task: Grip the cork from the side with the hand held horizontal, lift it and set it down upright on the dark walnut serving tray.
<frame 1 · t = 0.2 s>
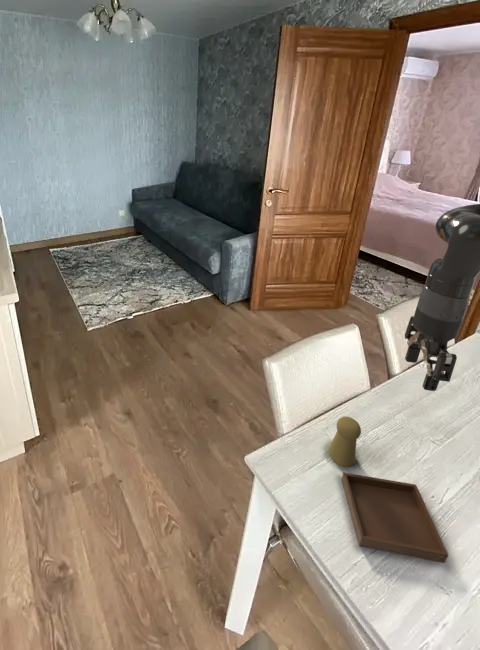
hand: (418, 374, 74), 27 cm above the table, tool pointing down, fingers open, 8 cm apart
cork: (341, 455, 85), on the table
tray: (387, 517, 72), on the table
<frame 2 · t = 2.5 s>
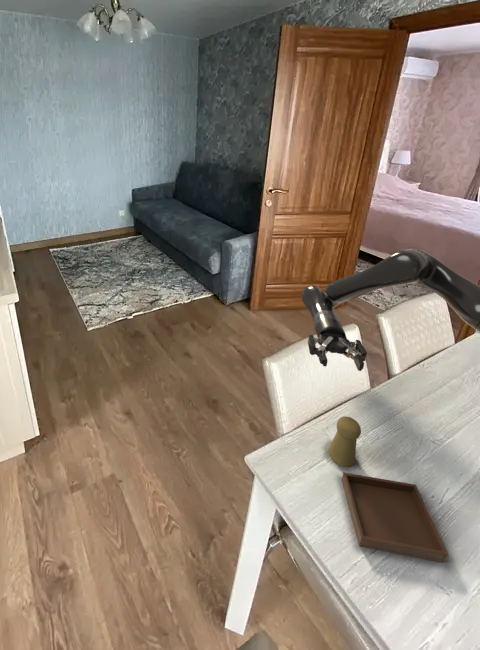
hand: (343, 366, 88), 18 cm above the table, tool horizontal, fingers open, 8 cm apart
nothing on the table moved.
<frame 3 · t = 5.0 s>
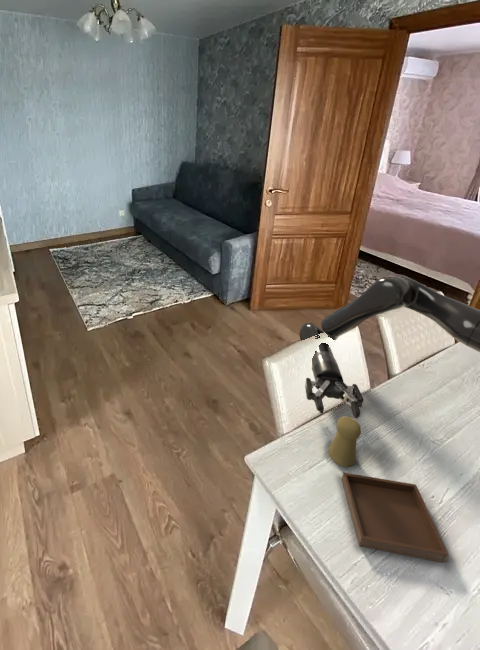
hand: (339, 413, 89), 6 cm above the table, tool horizontal, fingers open, 8 cm apart
nothing on the table moved.
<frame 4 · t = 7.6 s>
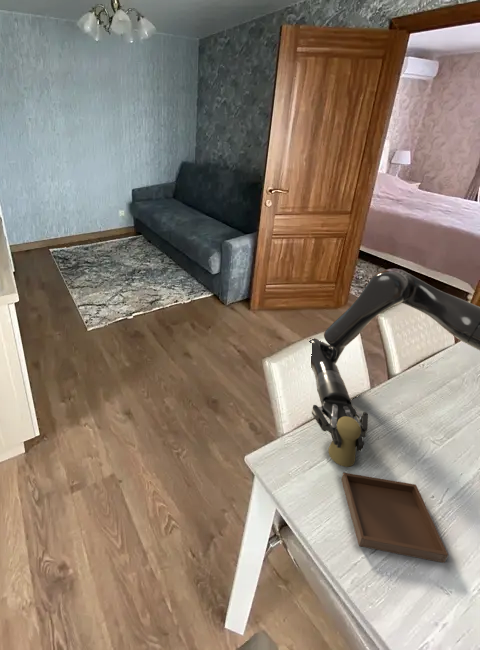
hand: (349, 446, 80), 6 cm above the table, tool horizontal, fingers closed on cork, 4 cm apart
cork: (341, 455, 85), on the table, touching gripper
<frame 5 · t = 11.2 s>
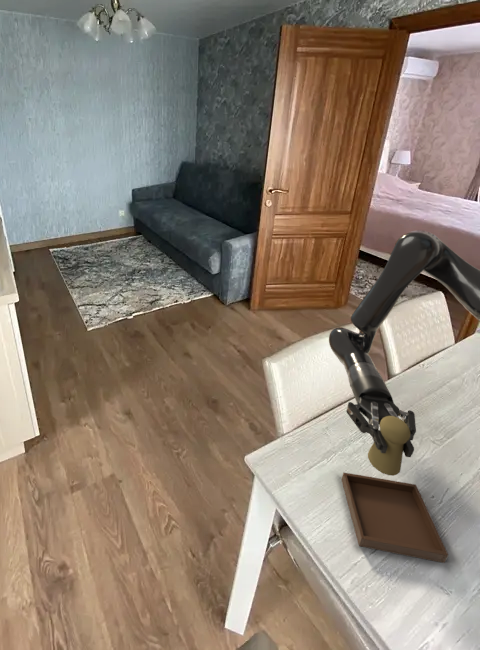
hand: (397, 452, 67), 18 cm above the table, tool horizontal, fingers closed on cork, 4 cm apart
cork: (383, 461, 72), point 11 cm above the table, touching gripper
when the fingers open (7 cm above the table, at t = 15.1 s): cork stays where it is, resting on tray.
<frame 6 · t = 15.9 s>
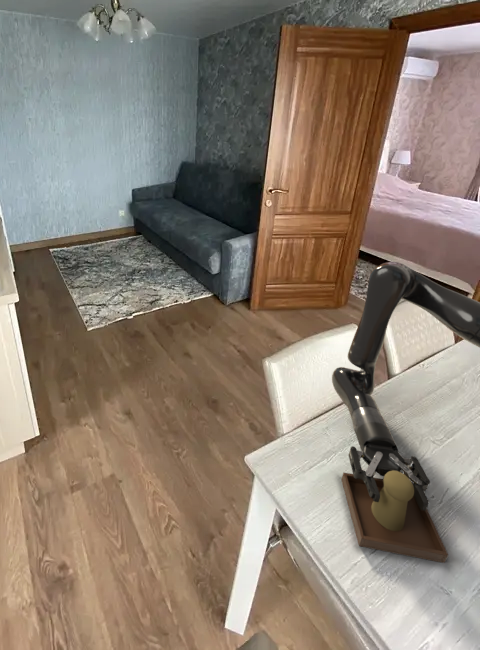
hand: (400, 503, 68), 8 cm above the table, tool horizontal, fingers open, 8 cm apart
cork: (387, 515, 72), resting on tray
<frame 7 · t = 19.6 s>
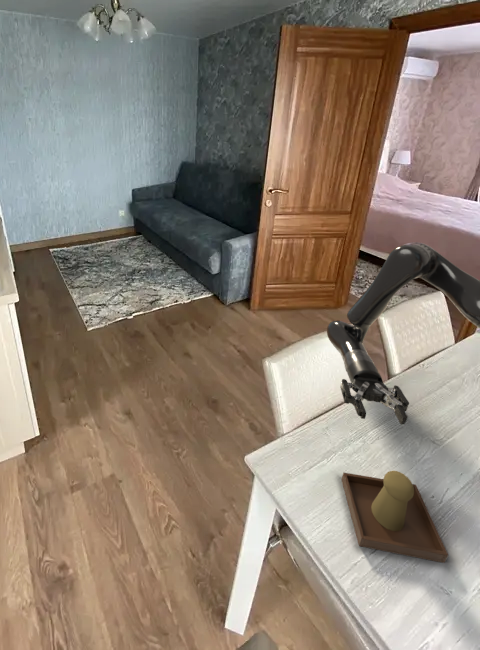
hand: (383, 419, 80), 13 cm above the table, tool horizontal, fingers open, 8 cm apart
nothing on the table moved.
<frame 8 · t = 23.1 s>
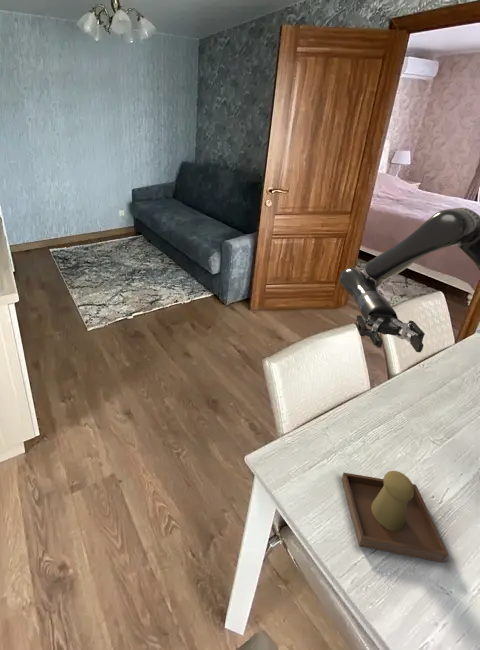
hand: (400, 347, 80), 28 cm above the table, tool horizontal, fingers open, 8 cm apart
nothing on the table moved.
at the end: cork inside the target area in the tray (0.2 cm from its centre), point 0.3 cm above the tray's base; cork tilted 0°; the gripper is holding nothing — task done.
